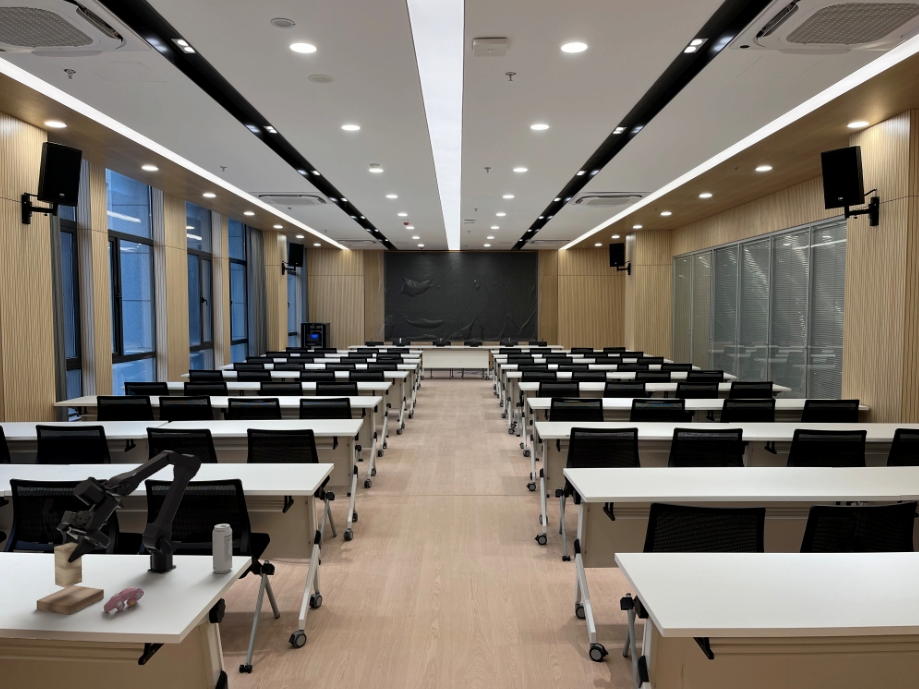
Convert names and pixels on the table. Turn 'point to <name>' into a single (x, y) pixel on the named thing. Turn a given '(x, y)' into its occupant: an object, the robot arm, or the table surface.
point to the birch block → (67, 566)
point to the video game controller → (124, 599)
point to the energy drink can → (222, 548)
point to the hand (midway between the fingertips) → (63, 560)
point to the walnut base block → (70, 599)
